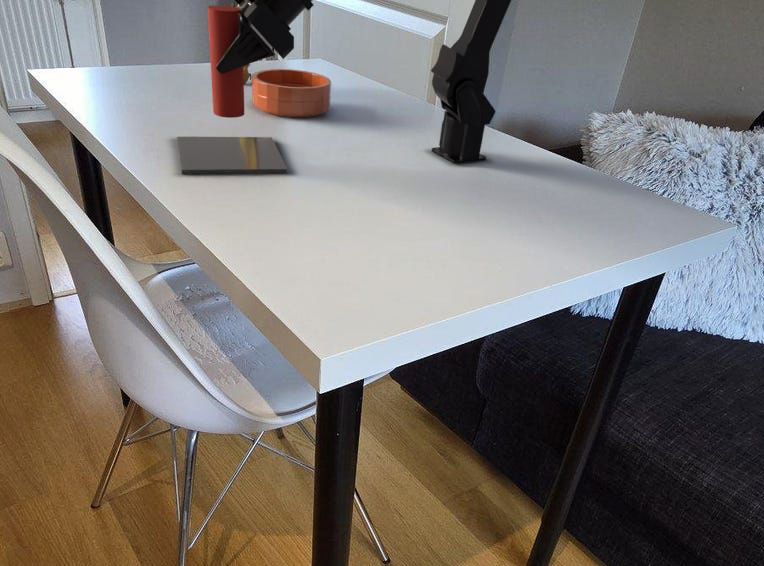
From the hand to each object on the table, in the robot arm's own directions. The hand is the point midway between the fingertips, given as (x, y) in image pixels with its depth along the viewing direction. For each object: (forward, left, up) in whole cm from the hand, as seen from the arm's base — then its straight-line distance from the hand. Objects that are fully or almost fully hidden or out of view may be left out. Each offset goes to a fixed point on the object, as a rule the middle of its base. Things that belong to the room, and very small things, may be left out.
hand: (216, 66), depth 88 cm
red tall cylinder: (0, -1, -6) cm, 6 cm away
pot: (+21, -21, -12) cm, 32 cm away
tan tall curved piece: (+38, -19, -12) cm, 44 cm away
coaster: (0, -1, -12) cm, 12 cm away
